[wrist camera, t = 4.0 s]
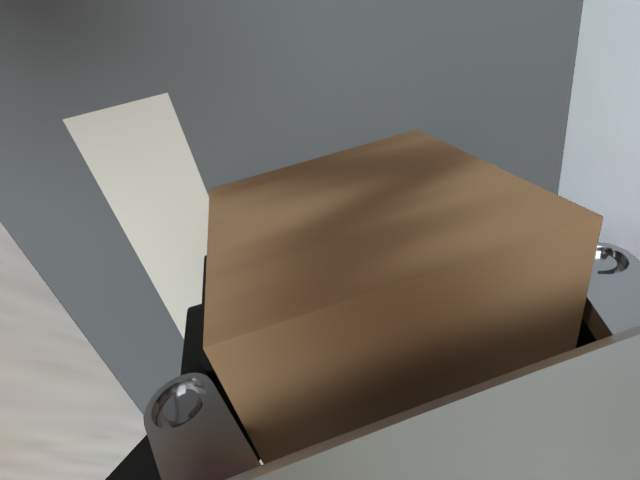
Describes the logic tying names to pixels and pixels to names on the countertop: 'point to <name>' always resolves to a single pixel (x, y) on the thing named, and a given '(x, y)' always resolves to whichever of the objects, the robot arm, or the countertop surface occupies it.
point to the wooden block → (384, 285)
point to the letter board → (239, 128)
